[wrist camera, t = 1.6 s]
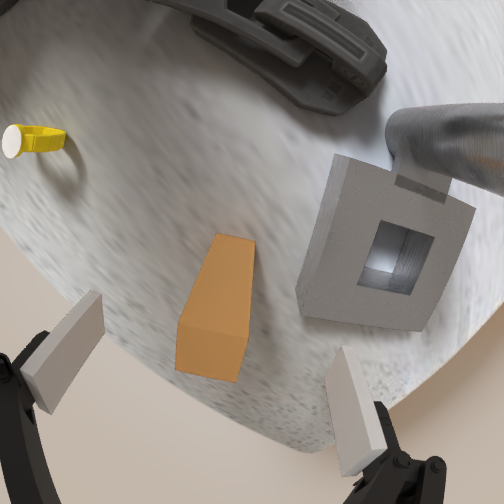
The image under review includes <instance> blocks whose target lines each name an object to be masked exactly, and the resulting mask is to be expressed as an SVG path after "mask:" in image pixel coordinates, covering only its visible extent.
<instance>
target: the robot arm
mask: <svg viewBox="0 0 504 504" xmlns="http://www.w3.org/2000/svg"><path fill="white" fill-rule="evenodd" d="M17 1H18V0H0V16H1V15H2V14H4V13H5V12H6V11H7V10H8V9H10V8H11V7H12V6H13V5H14V4H15V3H16V2H17ZM104 333H105V327H104V318H103V307H102V295H101V294H100V293H97V292H94V291H91V290H90V291H89V292H88V293H87V294H86V295H85V296H84V297H83V298H82V299H81V300H80V301H79V302H78V303H77V304H76V305H75V306H74V307H73V309H72V310H71V311H70V312H69V313H68V314H67V315H66V316H65V317H64V318H63V319H62V321H61V322H60V323H59V324H58V325H57V326H56V327H55V328H54V329H53V330H52V332H51V333H50V332H47V331H45V330H44V331H43V332H41V333H39V334H37V335H36V336H35V337H34V338H33V339H32V341H31V343H29V344H28V345H27V346H26V348H24V350H23V351H22V352H21V353H20V354H19V355H18V356H17V358H16V359H15V360H14V361H13V362H12V364H11V362H10V360H9V358H8V357H7V355H5V354H3V353H0V462H1V466H2V471H3V475H4V479H5V483H6V487H7V491H8V494H9V498H10V501H11V504H61V502H60V500H59V497H58V495H57V492H56V489H55V487H54V484H53V481H52V478H51V475H50V472H49V469H48V466H47V463H46V459H45V456H44V452H43V449H42V445H41V441H40V437H39V433H38V428H37V424H36V419H35V414H34V410H33V406H32V405H33V403H34V402H36V404H37V405H38V407H39V408H40V409H41V410H43V411H45V412H47V413H49V414H50V415H52V413H53V412H54V410H55V408H56V407H57V405H58V403H59V402H60V400H61V398H62V397H63V395H64V394H65V392H66V390H67V389H68V387H69V386H70V384H71V382H72V381H73V379H74V378H75V376H76V375H77V373H78V372H79V370H80V368H81V367H82V366H83V364H84V362H85V361H86V359H87V358H88V357H89V355H90V354H91V352H92V351H93V349H94V348H95V346H96V345H97V343H98V342H99V341H100V339H101V338H102V336H103V335H104ZM324 383H325V388H326V393H327V398H328V403H329V408H330V414H331V419H332V425H333V430H334V436H335V442H336V447H337V454H338V459H339V466H340V472H341V477H348V476H356V475H357V474H359V473H360V472H361V471H362V472H363V477H362V478H361V479H359V480H358V481H357V482H355V483H354V484H353V486H355V485H356V486H355V488H354V489H353V491H352V492H351V494H350V495H349V496H348V498H347V499H346V500H345V502H344V503H343V504H443V500H444V492H445V483H446V470H447V468H446V463H445V461H444V460H443V459H442V458H440V457H438V456H432V457H430V458H429V459H427V460H426V461H421V460H415V459H411V457H410V455H409V454H407V453H406V452H404V451H401V449H400V447H399V444H398V441H397V437H396V434H395V431H394V428H393V426H392V422H391V419H390V417H389V413H388V411H387V408H386V407H385V406H384V405H383V403H382V402H381V401H373V399H372V396H371V393H370V390H369V387H368V384H367V381H366V379H365V376H364V373H363V370H362V367H361V364H360V361H359V359H358V356H357V353H356V350H355V348H354V346H346V345H341V347H340V349H339V351H338V353H337V355H336V357H335V359H334V361H333V363H332V365H331V367H330V369H329V370H328V372H327V374H326V376H325V378H324Z"/></svg>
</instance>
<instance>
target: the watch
mask: <svg viewBox="0 0 504 504" xmlns="http://www.w3.org/2000/svg"><path fill="white" fill-rule="evenodd" d="M65 137H66V132H65V131H64V130H59V129H54V128H49V127H45V126H22V125H20V124H13V125H10V126H9V127H8V128H7V129H6V130H5V132H4V135H3V139H2V149H3V152H4V154H5V156H6V157H8V158H16V157H18V156H20V155H21V153H22V152H32V151H33V152H50V151H57V150H59V149H61V148H63V147H64V141H65Z"/></svg>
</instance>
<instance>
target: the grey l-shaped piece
mask: <svg viewBox="0 0 504 504" xmlns="http://www.w3.org/2000/svg"><path fill="white" fill-rule="evenodd" d="M385 138H386V143H387V146H388V148H389V150H390V152H391V153H392V155H393V156H394V157H395V160H394V164H393V167H392V171H388V170H385V169H382V168H380V167H377V166H374V165H371V164H368V163H365V162H362V161H359V160H356V159H353V158H349V157H346V156H342V155H339V154H335V155H334V159H333V163H332V167H331V170H330V174H329V178H328V182H327V185H326V189H325V193H324V196H323V200H322V203H321V207H320V211H319V214H318V218H317V221H316V224H315V228H314V231H313V235H312V238H311V241H310V245H309V248H308V251H307V254H306V258H305V261H304V264H303V267H302V270H301V273H300V277H299V280H298V283H297V286H296V295H297V300H298V305H299V311H300V315H301V316H306V317H313V318H319V319H325V320H332V321H338V322H345V323H352V324H359V325H366V326H374V327H382V328H390V329H398V330H407V331H416V332H422V330H423V328H424V326H425V325H426V323H427V321H428V319H429V317H430V316H431V314H432V312H433V310H434V308H435V306H436V304H437V302H438V300H439V298H440V296H441V294H442V292H443V290H444V288H445V286H446V284H447V282H448V280H449V277H450V275H451V273H452V271H453V269H454V266H455V264H456V262H457V259H458V257H459V254H460V252H461V249H462V247H463V244H464V242H465V239H466V236H467V234H468V231H469V228H470V225H471V222H472V219H473V216H474V213H475V210H476V208H474V207H472V206H470V205H468V204H466V203H464V202H462V201H460V200H458V199H456V198H454V197H451V196H449V195H447V194H448V191H449V187H450V184H451V180H452V178H454V179H457V180H460V181H463V182H465V183H468V184H471V185H474V186H476V187H479V188H482V189H484V190H487V191H489V192H492V193H494V194H497V195H499V196H502V197H504V103H467V104H447V105H434V106H423V107H413V108H404V109H400V110H397V111H396V112H394V113H393V114H392V115H391V116H390V118H389V119H388V122H387V124H386V129H385ZM380 220H383V221H386V222H389V223H393V224H396V225H399V226H403V227H406V228H409V232H408V235H407V238H406V240H405V243H404V246H403V248H402V251H401V253H400V256H399V259H398V261H397V263H396V266H395V268H394V271H393V273H388V272H384V271H379V270H375V269H370V268H366V267H364V265H365V262H366V260H367V257H368V254H369V252H370V249H371V246H372V243H373V241H374V238H375V235H376V232H377V229H378V226H379V223H380Z"/></svg>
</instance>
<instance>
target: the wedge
mask: <svg viewBox="0 0 504 504" xmlns="http://www.w3.org/2000/svg"><path fill="white" fill-rule="evenodd" d="M254 253H255V241H252V240H247V239H243V238H238V237H233V236H228V235H223V234H219V233H217V234H216V236H215V238H214V240H213V242H212V245H211V247H210V249H209V251H208V254H207V256H206V258H205V261H204V263H203V265H202V267H201V270H200V272H199V274H198V277H197V279H196V281H195V284H194V286H193V288H192V291H191V293H190V296H189V298H188V300H187V303H186V305H185V308H184V310H183V312H182V315H181V317H180V320H179V322H178V330H177V344H176V360H175V370H177V371H181V372H186V373H190V374H194V375H199V376H203V377H208V378H213V379H218V380H223V381H229V382H234V383H236V381H237V378H238V374H239V371H240V367H241V364H242V360H243V357H244V353H245V350H246V346H247V342H248V339H249V326H250V311H251V297H252V282H253V268H254Z"/></svg>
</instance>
